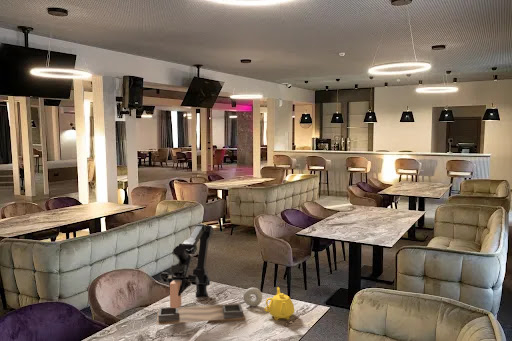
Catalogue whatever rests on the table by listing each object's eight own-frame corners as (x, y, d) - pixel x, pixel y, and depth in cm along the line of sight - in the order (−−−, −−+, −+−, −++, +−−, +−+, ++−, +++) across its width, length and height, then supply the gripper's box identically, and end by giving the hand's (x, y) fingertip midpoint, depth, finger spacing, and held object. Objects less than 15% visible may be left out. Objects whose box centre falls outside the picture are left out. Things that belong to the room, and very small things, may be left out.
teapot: (262, 308, 214) (262, 286, 213) (290, 307, 215) (290, 285, 214) (267, 326, 194) (267, 302, 193) (298, 325, 195) (298, 301, 194)
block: (173, 304, 201) (173, 280, 200) (181, 305, 200) (181, 281, 199) (170, 307, 197) (169, 283, 196) (178, 308, 196) (177, 284, 195)
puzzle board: (158, 312, 209) (158, 303, 209) (240, 306, 216) (240, 297, 216) (156, 327, 192) (155, 318, 192) (245, 320, 199) (245, 311, 199)
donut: (262, 304, 218) (262, 286, 217) (262, 307, 214) (262, 289, 214) (243, 304, 218) (243, 286, 217) (243, 307, 215) (243, 288, 214)
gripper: (160, 256, 202) (150, 286, 192) (196, 259, 198) (187, 289, 188) (168, 266, 210) (158, 296, 201) (202, 269, 206) (194, 299, 196)
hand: (174, 295), depth 196 cm, fingers closed on block, 4 cm apart
